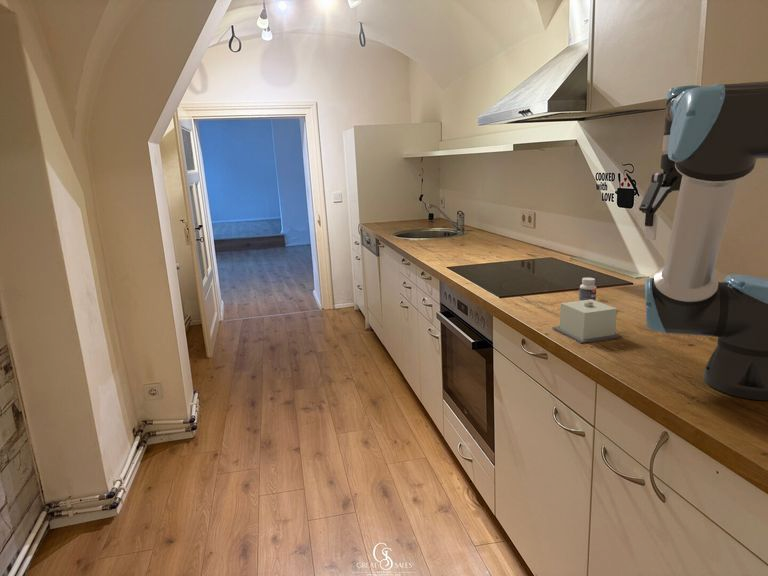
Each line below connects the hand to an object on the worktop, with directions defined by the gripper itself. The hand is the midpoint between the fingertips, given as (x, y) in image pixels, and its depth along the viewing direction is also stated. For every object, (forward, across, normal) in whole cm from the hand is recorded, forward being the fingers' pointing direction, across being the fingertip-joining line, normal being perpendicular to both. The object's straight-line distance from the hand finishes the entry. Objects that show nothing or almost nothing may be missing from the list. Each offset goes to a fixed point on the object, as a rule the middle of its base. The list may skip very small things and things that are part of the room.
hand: (670, 237), depth 131 cm
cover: (+27, +15, -12) cm, 33 cm away
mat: (+28, +15, -12) cm, 33 cm away
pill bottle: (+27, -6, -34) cm, 44 cm away
